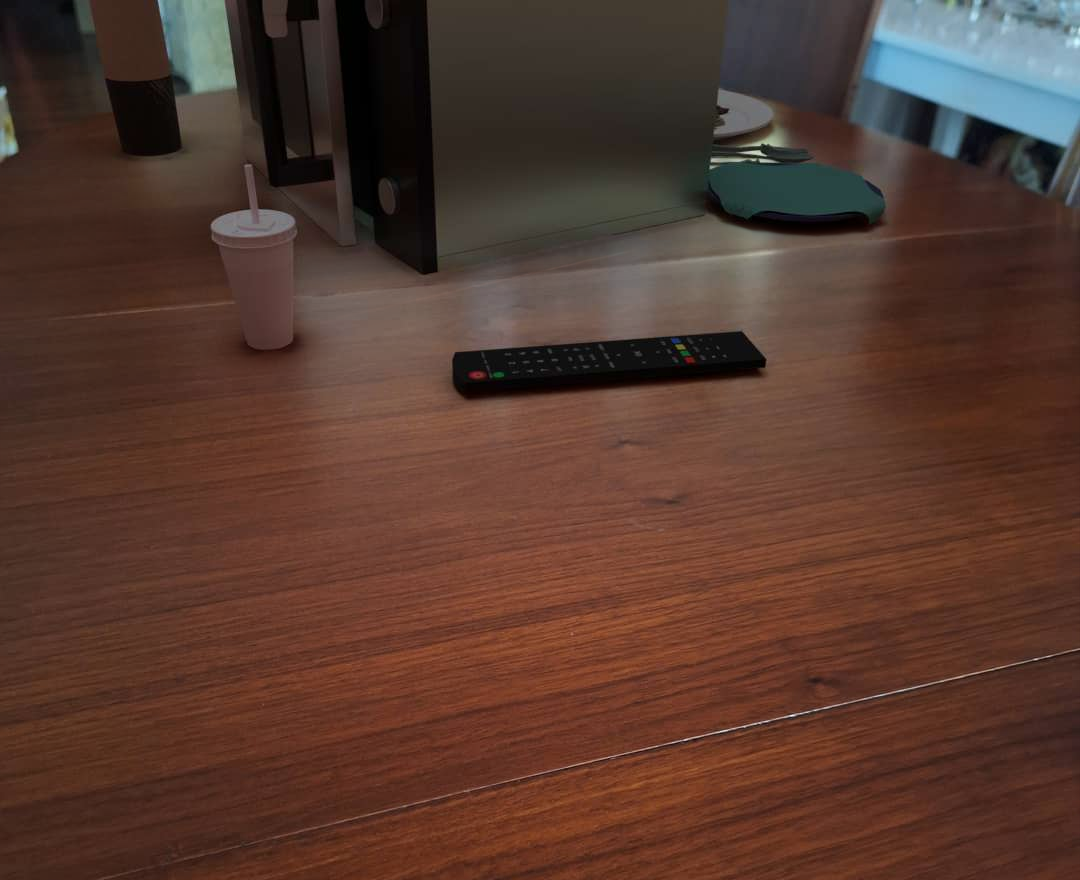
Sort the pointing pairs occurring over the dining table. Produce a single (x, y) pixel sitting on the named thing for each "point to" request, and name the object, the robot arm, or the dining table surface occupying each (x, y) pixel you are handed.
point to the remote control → (603, 361)
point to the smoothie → (259, 269)
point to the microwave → (526, 120)
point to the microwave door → (296, 108)
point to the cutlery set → (789, 187)
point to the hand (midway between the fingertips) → (270, 33)
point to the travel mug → (137, 75)
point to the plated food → (739, 115)
